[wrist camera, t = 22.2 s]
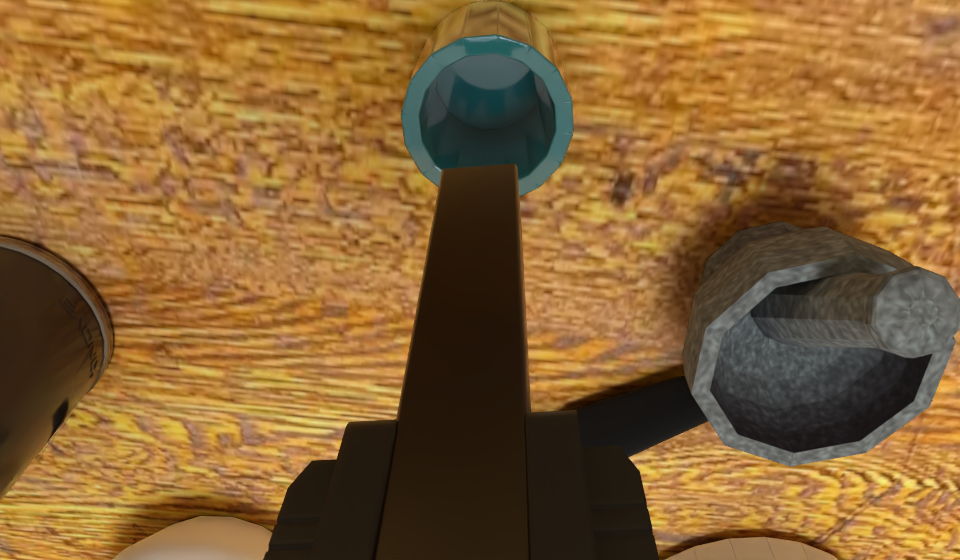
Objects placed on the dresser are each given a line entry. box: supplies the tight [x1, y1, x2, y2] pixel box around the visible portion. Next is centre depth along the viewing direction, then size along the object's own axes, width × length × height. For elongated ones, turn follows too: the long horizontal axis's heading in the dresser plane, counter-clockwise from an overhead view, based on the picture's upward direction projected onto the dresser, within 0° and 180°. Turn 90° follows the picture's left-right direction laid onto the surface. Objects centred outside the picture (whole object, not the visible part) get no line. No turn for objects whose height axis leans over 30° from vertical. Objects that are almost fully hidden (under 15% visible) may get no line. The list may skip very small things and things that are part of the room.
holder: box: [401, 0, 574, 197], centre depth 28 cm, size 6×6×7 cm
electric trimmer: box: [574, 376, 709, 457], centre depth 39 cm, size 4×16×3 cm, turn 121°
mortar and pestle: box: [683, 221, 960, 466], centre depth 30 cm, size 11×9×12 cm
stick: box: [373, 164, 531, 560], centre depth 13 cm, size 2×2×14 cm
